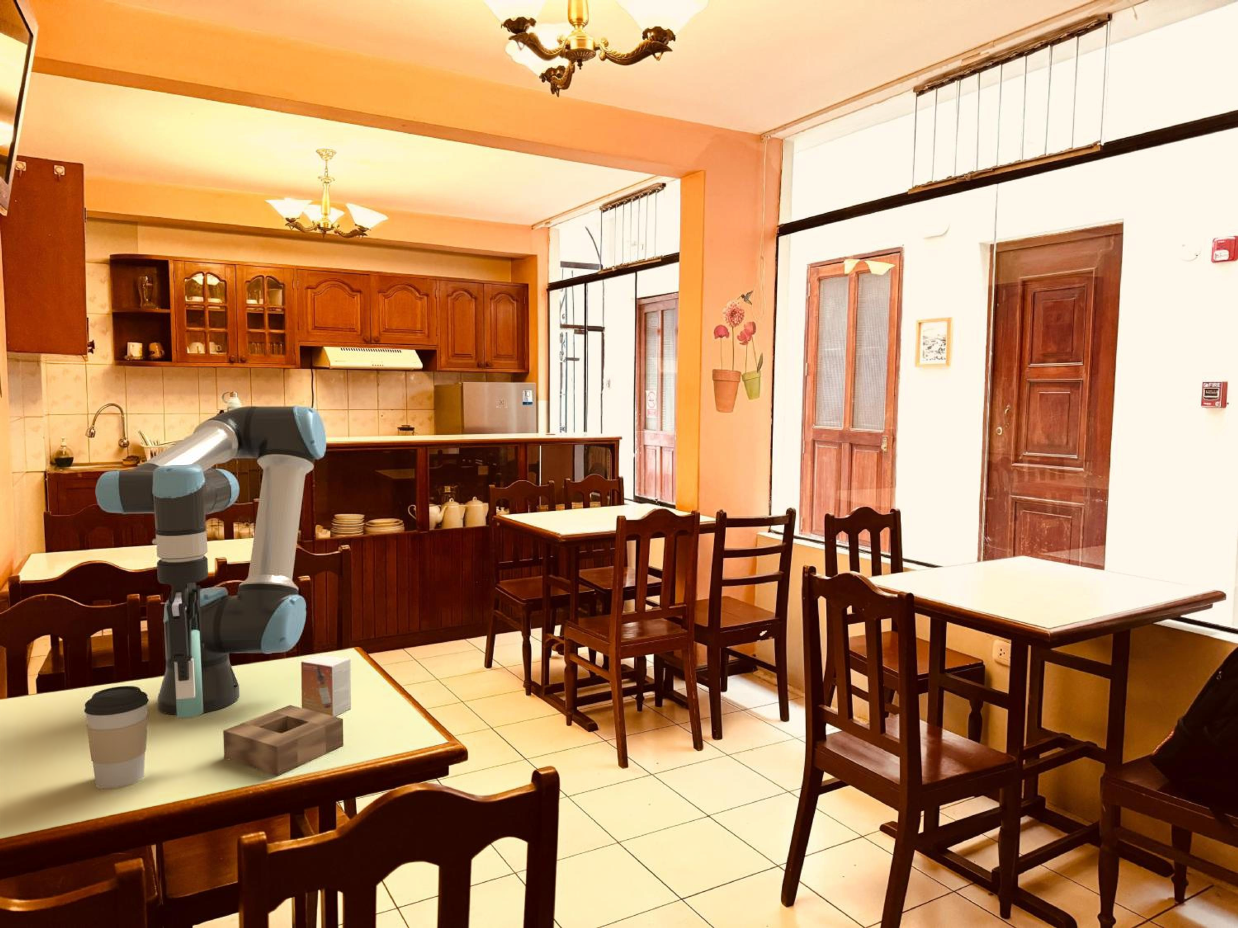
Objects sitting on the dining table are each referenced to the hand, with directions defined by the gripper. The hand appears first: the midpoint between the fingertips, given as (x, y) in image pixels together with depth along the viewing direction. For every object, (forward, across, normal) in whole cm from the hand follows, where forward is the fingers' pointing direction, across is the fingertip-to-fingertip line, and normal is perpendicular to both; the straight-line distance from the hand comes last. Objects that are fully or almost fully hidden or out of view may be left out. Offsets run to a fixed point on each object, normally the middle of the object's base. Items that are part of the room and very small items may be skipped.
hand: (189, 692), depth 140 cm
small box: (+14, -20, +20) cm, 32 cm away
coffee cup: (+13, +3, -10) cm, 17 cm away
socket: (+13, -1, +15) cm, 20 cm away
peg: (+4, 0, 0) cm, 4 cm away
